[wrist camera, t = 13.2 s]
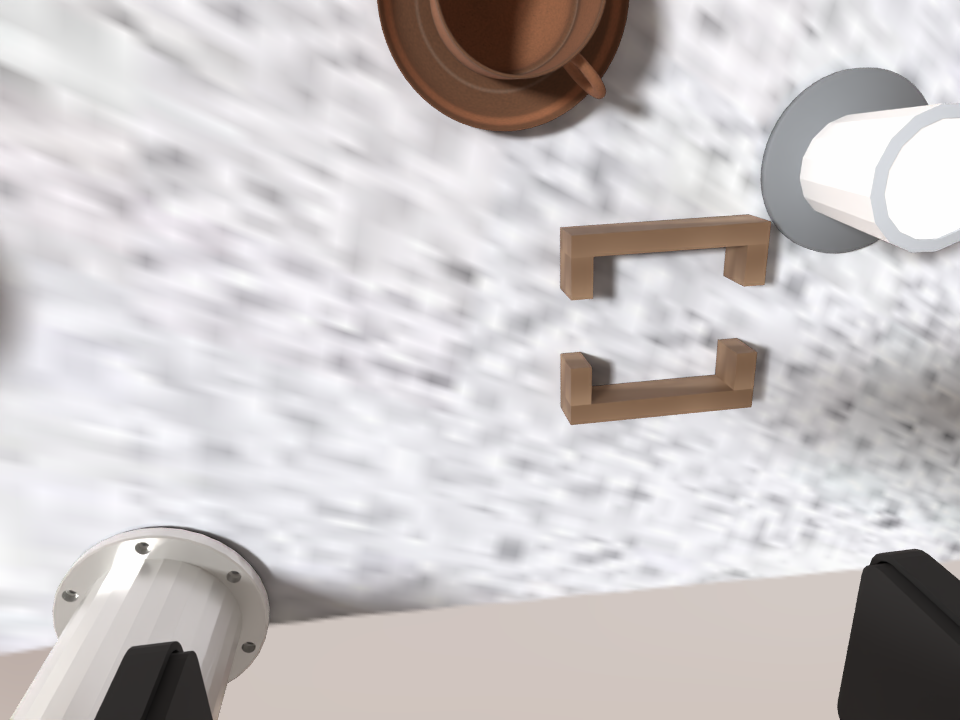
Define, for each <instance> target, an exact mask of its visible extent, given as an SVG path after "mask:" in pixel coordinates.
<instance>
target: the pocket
mask: <svg viewBox="0 0 960 720" xmlns="http://www.w3.org/2000/svg"><path fill="white" fill-rule="evenodd" d="M770 228H771V221H768V220H764V219H761V218H758V217H755V216H752V215H749V214H748V215H733V216H719V217H704V218H689V219H675V220H660V221H646V222H631V223H617V224H602V225H588V226H573V227H560V289H561V290H562V291H563V292H564V293H565V294H566V295H567V296H568V297H569V298H570V299H571V300H581V299H593V259H594V257H596V256H610V255H624V254H637V253H651V252H664V251H678V250H691V249H705V248H719V247H726V251H725V263H724V275H723V276H725V277H727V278H729V279H731V280H733V281H734V282H736V283H738V284H740V285H742V286H756V285H764V284H765V275H766V265H767V256H768V247H769V237H770ZM756 359H757V352H756V351H755V350H753V349H752V348H750V347H749V346H748V345H746V344H745V343H743V342H742V341H740V340H739V339H737V338H733V339H722V340H718V346H717V358H716V369H715V375H707V376H696V377H685V378H674V379H664V380H653V381H642V382H632V383H621V384H610V385H600V386H592V367H591V365H590V364H589V363H588V361H587V360H586V359H585V357H584V356H583V355H582V354H581V352H574V353H563V354H561V408H562V410H563V412H564V414H565V416H566V417H567V419H568V421H569V423H570V424H571V425H576V424H586V423H596V422H606V421H616V420H626V419H636V418H647V417H657V416H667V415H677V414H687V413H697V412H707V411H717V410H727V409H737V408H748V407H751V406H752V396H753V387H754V378H755V368H756Z"/></svg>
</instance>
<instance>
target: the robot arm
mask: <svg viewBox="0 0 960 720" xmlns="http://www.w3.org/2000/svg"><path fill="white" fill-rule="evenodd" d="M52 612H53V625H54V629H55V632H56V635H57V638H58V640H57V642H56V644H55V645H54V647H53V649H52V650H51V652H50V654H49V655H48V657H47V659H46V660H45V662H44V664H43V665H42V667H41V669H40V670H39V672H38V673H37V675H36V677H35V678H34V680H33V682H32V683H31V685H30V687H29V689H28V690H27V692H26V693H25V695H24V697H23V698H22V700H21V702H20V703H19V705H18V707H17V708H16V710H15V711H14V713H13V715H12V717H11V718H10V720H217V719H218V716H219V712H220V708H221V705H222V701H223V697H224V694H225V690H226V686H227V683H229V682H230V681H232V680H233V679H235V678H237V677H238V676H239V675H240V674H241V673H242V672H244V671H245V670H246V669H247V668H248V667H249V666H250V665H251V663H252V662H253V661H254V659H255V658H256V657H257V655H258V654H259V652H260V650H261V647H262V645H263V643H264V641H265V638H266V633H267V629H268V625H269V612H270V607H269V601H268V596H267V592H266V590H265V588H264V585H263V583H262V581H261V579H260V577H259V576H258V574H257V573H256V572H255V570H254V569H253V568H252V566H251V565H250V564H249V563H248V562H247V561H246V560H245V559H244V558H243V557H242V556H240V555H239V554H238V553H237V552H236V551H234V550H233V549H231V548H229V547H228V546H226V545H225V544H223V543H221V542H219V541H217V540H215V539H212V538H210V537H207V536H205V535H203V534H199V533H195V532H191V531H187V530H183V529H173V528H161V527H160V528H145V529H137V530H133V531H128V532H124V533H120V534H117V535H115V536H112V537H110V538H108V539H105V540H103V541H101V542H99V543H98V544H96V545H95V546H93V547H92V548H90V549H89V550H87V551H86V552H85V553H84V554H83V555H82V556H81V557H80V558H79V559H78V560H77V561H76V562H75V563H74V564H73V565H72V566H71V568H70V569H69V571H68V572H67V574H66V575H65V576H64V578H63V579H62V581H61V583H60V585H59V587H58V589H57V591H56V594H55V599H54V604H53V610H52ZM837 708H838V714H839V718H840V720H960V580H958V579H957V578H956V577H955V576H954V575H952V574H951V573H950V572H949V571H948V570H946V569H945V568H944V567H943V566H942V565H941V564H939V563H938V562H937V561H936V560H935V559H933V558H932V557H931V556H930V555H928V554H927V553H925V552H924V551H922V550H918V549H910V550H902V551H894V552H886V553H880V554H876V555H875V556H874V557H873V558H872V560H871V563H870V565H869V566H866V567H865V568H864V569H863V572H862V576H861V582H860V586H859V592H858V597H857V603H856V608H855V613H854V618H853V624H852V629H851V634H850V640H849V645H848V650H847V656H846V661H845V666H844V671H843V677H842V682H841V687H840V692H839V698H838V707H837Z"/></svg>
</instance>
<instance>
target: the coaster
mask: <svg viewBox="0 0 960 720" xmlns="http://www.w3.org/2000/svg"><path fill="white" fill-rule="evenodd" d="M926 105H928V103H927V102H926V100H925V98H924V97H923V95H922V93H921V92H920V91H919V90H918V89H917V88H916V86H915V85H913V84H912V83H911V82H910V81H909V80H907V79H906V78H904V77H903V76H901V75H899V74H897V73H894V72H892V71H889V70H885V69H880V68H855V69H847V70H843V71H839V72H836V73H833V74H831V75H828V76H826V77H824V78H822V79H820V80H818V81H817V82H815V83H813V84H812V85H811V86H809V87H808V88H807V89H805V90H804V91H803V92H802V93H800V94H799V95H798V96H797V97H796V98H795V99H794V100H793V101H792V102H791V104H790V105H789V106H788V107H787V108H786V109H785V111H784V112H783V114H782V115H781V117H780V118H779V120H778V121H777V123H776V125H775V127H774V129H773V130H772V132H771V135H770V137H769V140H768V142H767V145H766V148H765V152H764V156H763V161H762V167H761V189H762V196H763V200H764V204H765V207H766V209H767V212H768V214H769V216H770V218H771V220H772V222H773V223H774V224H775V226H776V227H777V228H778V230H779V231H780V232H781V233H782V234H783V235H785V236H786V237H787V238H788V239H790V240H791V241H793V242H794V243H796V244H798V245H800V246H802V247H805V248H808V249H811V250H814V251H818V252H825V253H842V252H849V251H853V250H856V249H860V248H862V247H865V246H867V245H870V244H872V243H873V242H875V241H877V240H879V238H877V237H874V236H872V235H870V234H867V233H865V232H863V231H860V230H858V229H856V228H853V227H851V226H849V225H847V224H844V223H842V222H840V221H837V220H835V219H833V218H830V217H828V216H826V215H824V214H821V213H819V212H817V211H815V210H814V209H813V208H812V207H811V205H810V204H809V203H808V201H807V200H806V199H805V198H804V195H803V191H802V187H801V182H800V173H801V166H802V159H803V156H804V155H805V153H806V151H807V149H808V147H809V145H810V143H811V141H812V139H813V138H814V137H815V136H816V135H817V134H818V133H819V132H820V131H821V130H822V129H823V128H824V127H825V126H826V125H827V124H828V123H830V122H832V121H835V120H837V119H839V118H841V117H844V116H846V115H850V114H859V113H867V112H876V111H884V110H892V109H901V108H909V107H917V106H926Z"/></svg>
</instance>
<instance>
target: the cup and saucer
mask: <svg viewBox="0 0 960 720" xmlns="http://www.w3.org/2000/svg"><path fill="white" fill-rule="evenodd" d="M377 4H378V11H379V17H380V22H381V26H382V30H383V33H384V37H385V40H386V43H387V45H388V48H389V50H390V52H391V55H392V57H393V59H394V60H395V62H396V64H397V66H398V68H399V69H400V71H401V72H402V74H403V76H404V77H405V79H406V80H407V81H408V82H409V84H410V85H411V86H412V87H413V89H414V90H415V91H416V92H417V93H418V94H419V95H420V96H421V97H422V98H423V99H424V100H425V101H427V102H428V103H429V104H430V105H431V106H433V107H434V108H435V109H437V110H438V111H440V112H441V113H443V114H444V115H446V116H448V117H450V118H451V119H453V120H456V121H458V122H460V123H462V124H465V125H468V126H471V127H475V128H479V129H484V130H491V131H516V130H523V129H528V128H533V127H536V126H539V125H542V124H545V123H547V122H549V121H551V120H554V119H556V118H557V117H559V116H561V115H563V114H564V113H566V112H567V111H569V110H570V109H572V108H573V107H574V106H576V105H577V104H578V103H579V102H580V101H582V100H583V99H584V98H585V97H586V96H587V95H588V94H589V95H591V96H592V97H594V98H597V99H602V98H603V97H604V96H605V94H606V89H605V86H604V84H603V82H602V80H601V78H602V77H603V75H604V74H605V72H606V71H607V69H608V67H609V65H610V64H611V62H612V60H613V58H614V56H615V54H616V51H617V49H618V47H619V44H620V41H621V38H622V35H623V32H624V28H625V24H626V20H627V13H628V7H629V0H377Z"/></svg>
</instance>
